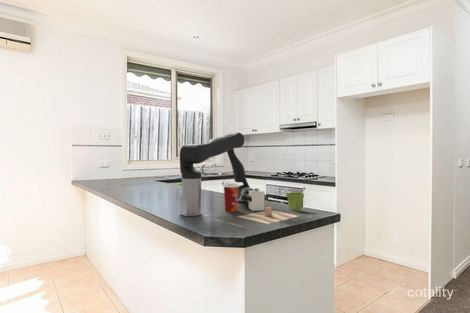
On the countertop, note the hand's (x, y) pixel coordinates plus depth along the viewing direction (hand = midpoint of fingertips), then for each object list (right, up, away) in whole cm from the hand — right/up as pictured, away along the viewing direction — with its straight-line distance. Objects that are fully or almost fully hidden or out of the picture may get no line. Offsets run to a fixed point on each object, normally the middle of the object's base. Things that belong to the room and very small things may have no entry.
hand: (257, 199), depth 143 cm
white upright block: (-1, -6, +2) cm, 6 cm away
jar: (+4, -5, -14) cm, 16 cm away
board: (+4, -6, -14) cm, 16 cm away
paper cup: (-14, -6, -1) cm, 15 cm away
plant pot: (+19, -6, +3) cm, 21 cm away
